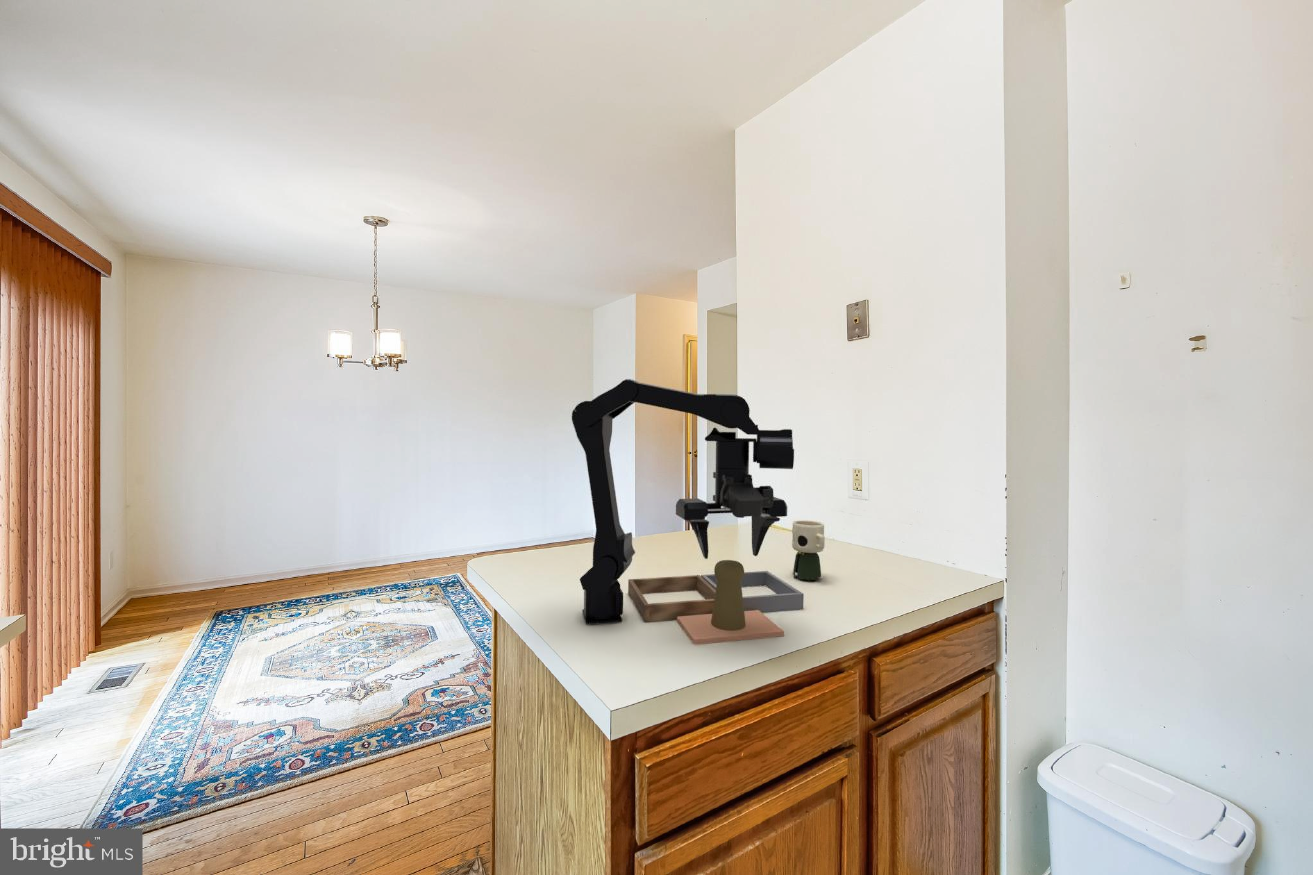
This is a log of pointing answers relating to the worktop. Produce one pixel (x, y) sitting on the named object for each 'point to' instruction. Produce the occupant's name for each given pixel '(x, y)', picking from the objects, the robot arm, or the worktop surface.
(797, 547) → the character mug
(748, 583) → the charcoal bin
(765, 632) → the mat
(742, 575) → the cork
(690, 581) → the walnut bin
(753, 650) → the worktop surface
